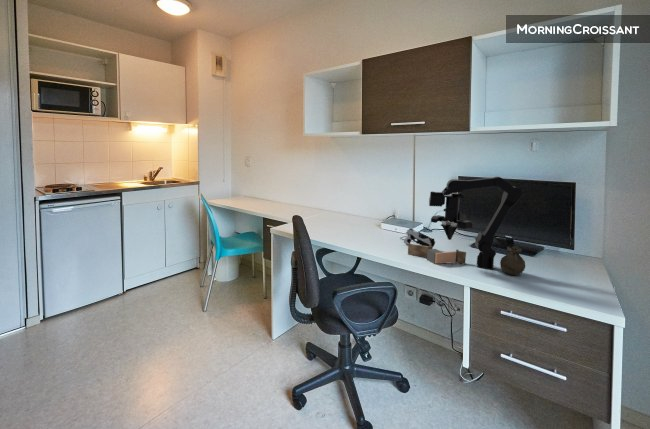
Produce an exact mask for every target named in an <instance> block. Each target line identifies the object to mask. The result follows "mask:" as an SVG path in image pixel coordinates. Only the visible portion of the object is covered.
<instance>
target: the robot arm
mask: <svg viewBox="0 0 650 429" xmlns="http://www.w3.org/2000/svg"><path fill="white" fill-rule="evenodd" d="M446 182H447V183H446V186H445V188H444V189H443V190H442V191H429V192H430V194H429V198H428V206H429V207H443V206H444V205H445V208H444V209H443V212H444V215H432V216H431V218H430V222H431V223H433V224H434V223H438V222H440V223H441V224H440V226H441V227H442V228H443V230H444V232H445V235H446V238H447V240H449V241H451V240H452V238H453V237H454V234H455V232H456V231H457V229H458V228H459V229H464V230H467V229H471V228H473V222H472V221H471V220H465V219H466V216H467V214H465V213H462V212H461V209H460V207H459V206H460V199H464V198H465V195H463V193H462V192H464V191H466V190H470V189H472V190H473V189H479V188H481V189H482V188H488V187H490V188H491V187H496V188H498V190H500V191H501V192H502V196H501V201H500V204H499V206H498V208H497V210H496V211H495V213H494V214H493V216H492V218H491V219H490V221H489V222H488V224H487V227H486V229H485V230H484V231H483V232H480V231H479V232H478V233H477V235H476V237H475V238H474V240H475V242H474V244H475V247H476V248H477V249H478V251H479V253H478V255H477V256H476V257H477V258H476V265H477V266H476V267H477V268H481V269H487V270H493V269H494V266H495V265H494V263H495V256H496V255H497V252H496V251H495V249H493V245H494V239H495V235H497V234H496V233H497V232H498V231H499V229H500V227H501V225H502V223H503V222H504V220H505V218H506V217H507V216H508V213H509V212H510V210H511V208H513V207H514V206H515V205H516V204H517V203H518V202H519V200H521V198H522V197H523V191H522V189H521V188H519V187H517V186H513V185H512V184H510V183H509V182H507V181H506V180H504V179H503V178H502V177H500V176H493V177H484V178H478V179H477V178H475V179H469V180H466V179H449V180H448V181H446Z"/></svg>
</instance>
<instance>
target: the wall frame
mask: <svg viewBox="0 0 650 429" xmlns="http://www.w3.org/2000/svg"><path fill="white" fill-rule="evenodd" d="M407 246H408V247H407V255H410V256H411V255H412V256H417V257H421V258H423V257H424V258H427V251H428V249H432V246H430V245H429V246H422V245H420V244H415V243H410V244H408V245H407ZM455 251H456V261H455V262H454V263H459V264H466V258H467V252H466V251H461V250H459V249H455Z"/></svg>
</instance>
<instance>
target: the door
mask: <svg viewBox="0 0 650 429" xmlns="http://www.w3.org/2000/svg"><path fill="white" fill-rule="evenodd" d="M455 261H456V250H453V251H444V252H443V251H441V253H435V264H446V263H447V264H448V263H456V262H455ZM435 264H434V265H435Z"/></svg>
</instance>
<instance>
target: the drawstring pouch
mask: <svg viewBox="0 0 650 429" xmlns="http://www.w3.org/2000/svg"><path fill="white" fill-rule="evenodd" d="M506 249H507V251H508V253H507V254H506V255H504V256H503V257H501V259H500V263H499V265H500V268H501V270H502V271H503V272H504V273H505V274H507V275H509V276H519V275H520V274H523V272H524V271H525V270H526V260H525V259H524V258H523V257H522V256H521V254H520V253H522V251H523V248H521V247H519V246H517V245H514V246H509V245H506Z"/></svg>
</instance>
